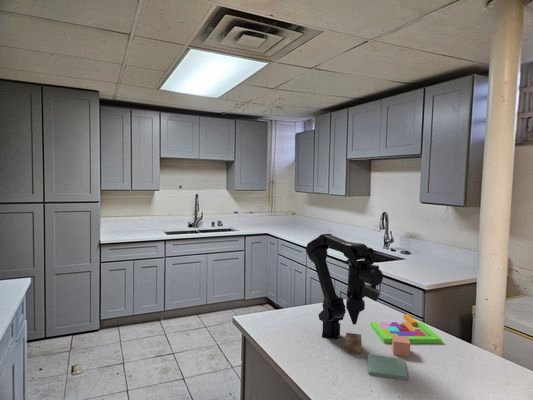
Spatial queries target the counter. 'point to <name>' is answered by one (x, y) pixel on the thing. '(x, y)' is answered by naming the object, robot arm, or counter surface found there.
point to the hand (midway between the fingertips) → (354, 319)
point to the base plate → (386, 366)
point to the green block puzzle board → (405, 331)
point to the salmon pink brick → (400, 345)
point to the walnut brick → (353, 343)
